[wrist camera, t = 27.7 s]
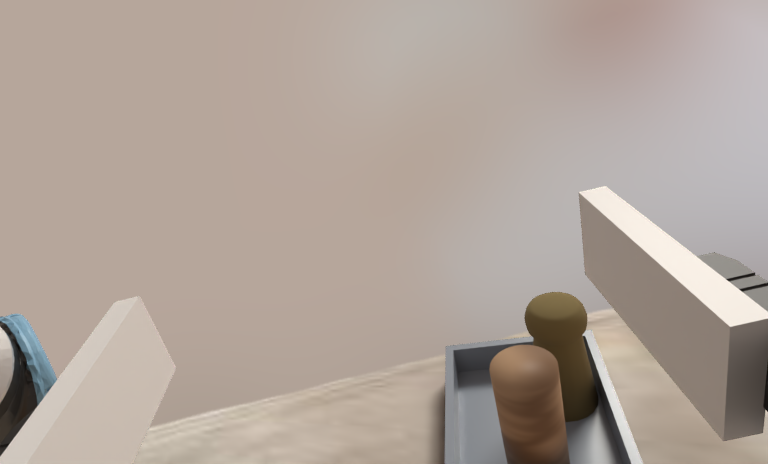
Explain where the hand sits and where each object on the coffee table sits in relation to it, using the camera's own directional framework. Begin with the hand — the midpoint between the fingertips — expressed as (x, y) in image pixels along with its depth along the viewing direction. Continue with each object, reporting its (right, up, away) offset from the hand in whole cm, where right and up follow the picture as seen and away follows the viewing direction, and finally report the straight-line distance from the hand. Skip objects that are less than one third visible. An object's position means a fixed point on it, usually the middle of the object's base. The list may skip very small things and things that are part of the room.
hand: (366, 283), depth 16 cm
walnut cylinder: (+13, -18, +29) cm, 36 cm away
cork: (+18, -14, +35) cm, 42 cm away
